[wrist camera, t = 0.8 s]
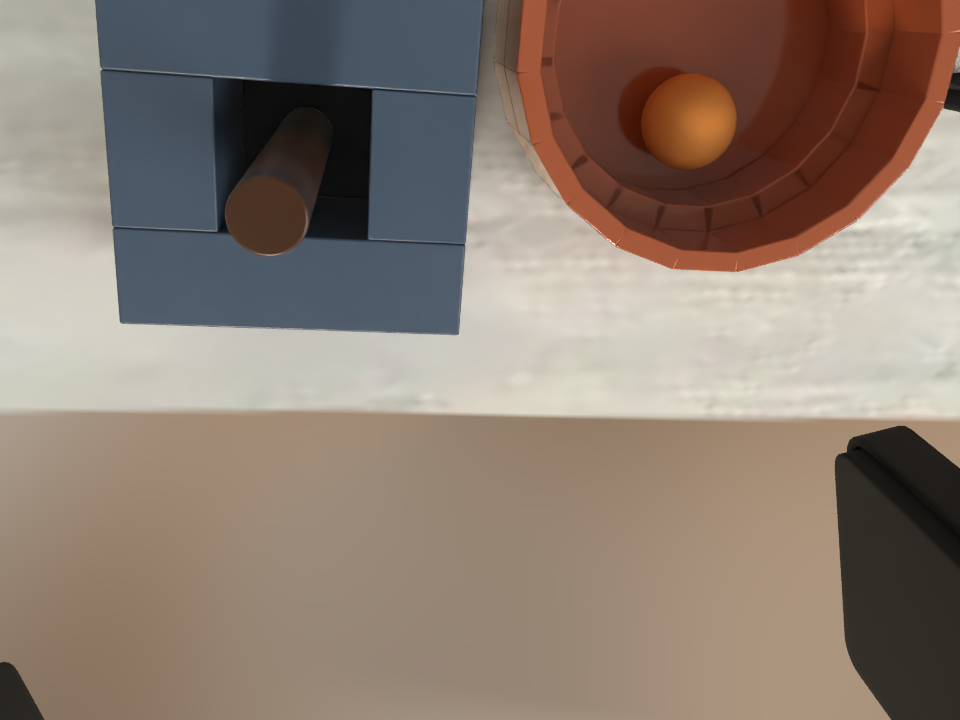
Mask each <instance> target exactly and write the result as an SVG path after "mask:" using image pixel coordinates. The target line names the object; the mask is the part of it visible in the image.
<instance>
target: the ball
mask: <svg viewBox="0 0 960 720" xmlns="http://www.w3.org/2000/svg"><path fill="white" fill-rule="evenodd" d="M736 124H737V114H736V108H735V104H734V101H733V99H732V97H731V95H730V93H729V92H728V91H727V90H726V88H725V87H724V86H723V85H722V84H721V83H719V82H718V81H717V80H715V79H713V78H711V77H709V76H706V75H703V74H697V73H687V74H681V75H677V76H675V77H672V78H670V79H668V80H666V81H665V82H663V83H662V84H660V85H659V86H658V87H657V88H656V89H655V90H654V91H653V92H652V94H651V95H650V97H649V98H648V100H647V102H646V104H645V106H644V109H643V112H642V117H641V131H642V136H643V139H644V142H645V144H646V146H647V148H648V150H649V151H650V153H651V154H652V155H653V156H654V157H655V158H656V159H657V160H659V161H660V162H661V163H663V164H664V165H667V166H669V167H672V168H675V169H681V170H691V169H697V168H701V167H703V166H706V165H708V164H710V163H712V162H713V161H715V160H716V159H717V158H719V157H720V156H721V155H722V154H723V153H724V152H725V150H726V149H727V148H728V146H729V145H730V143H731V141H732V139H733V136H734V134H735V130H736Z"/></svg>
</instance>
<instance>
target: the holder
mask: <svg viewBox="0 0 960 720" xmlns="http://www.w3.org/2000/svg"><path fill="white" fill-rule="evenodd" d="M483 1H484V0H95V6H96V19H97V32H98V44H99V57H100V67H101V69H103V70H101V85H102V98H103V111H104V124H105V137H106V150H107V163H108V176H109V188H110V201H111V214H112V225H113V227H114V228H113V239H114V252H115V265H116V278H117V291H118V303H119V316H120V322H121V323H122V324H149V325H179V326H208V327H237V328H266V329H295V330H324V331H353V332H382V333H411V334H440V335H458V334H459V325H460V312H461V298H462V285H463V271H464V258H465V243H466V232H467V218H468V205H469V192H470V178H471V165H472V151H473V138H474V124H475V111H476V96H475V95H476V93H477V82H478V69H479V55H480V42H481V28H482V15H483ZM242 80H257V81H271V82H285V83H299V84H313V85H327V86H341V87H355V88H369V89H372V97H371V129H370V160H369V192H368V199H359V198H341V197H322V196H317V198H316V202H315V205H314V209H313V212H312V216H311V220H310V223H309V227H308V230H307V233H306V235H305V237H304V239H303V240H302V242H301V243H300V244H299V245H298V246H297V247H296V248H294V249H293V250H292V251H290V252H288V253H286V254H283V255H280V256H274V257H266V256H260V255H256V254H253V253H251V252H249V251H247V250H246V249H244V248H243V247H241V246H240V245H239V244H238V243H237V242H236V241H235V240H234V238H233V237H232V235H231V234H230V232H229V230H228V227H227V224H226V220H225V207H226V203H227V200H228V197H229V195H230V194H231V192H232V191H233V189H234V188H235V187H236V185H237V184H238V182H239V181H240V180H241V178H242V177H243V176H244V146H243V97H242Z"/></svg>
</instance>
